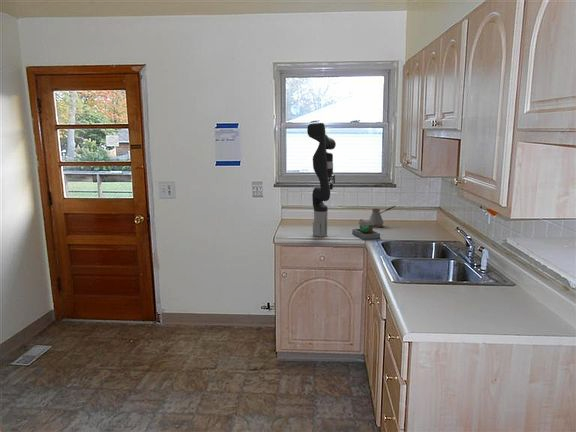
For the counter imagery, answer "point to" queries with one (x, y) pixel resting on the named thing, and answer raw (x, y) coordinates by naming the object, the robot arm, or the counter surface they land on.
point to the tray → (366, 236)
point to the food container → (366, 227)
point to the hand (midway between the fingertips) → (327, 190)
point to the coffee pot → (377, 217)
